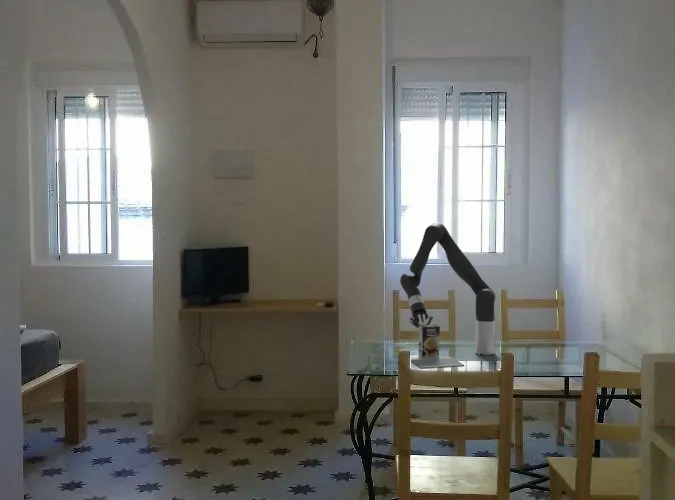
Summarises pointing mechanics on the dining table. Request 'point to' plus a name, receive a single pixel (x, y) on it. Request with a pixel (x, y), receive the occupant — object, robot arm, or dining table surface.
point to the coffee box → (429, 341)
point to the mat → (436, 362)
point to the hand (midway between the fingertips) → (425, 333)
